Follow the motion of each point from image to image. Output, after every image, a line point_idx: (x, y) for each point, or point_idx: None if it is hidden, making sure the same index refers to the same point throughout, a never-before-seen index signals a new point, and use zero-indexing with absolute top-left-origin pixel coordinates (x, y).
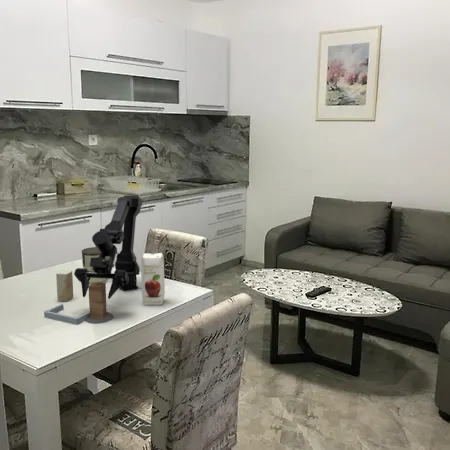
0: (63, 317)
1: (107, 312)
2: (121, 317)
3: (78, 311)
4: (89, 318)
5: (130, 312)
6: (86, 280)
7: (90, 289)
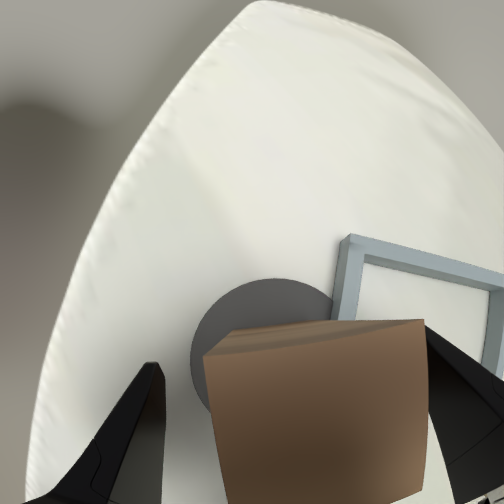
0: (428, 255)
1: None
2: None
3: None
4: None
5: None
6: (501, 463)
7: (374, 326)
